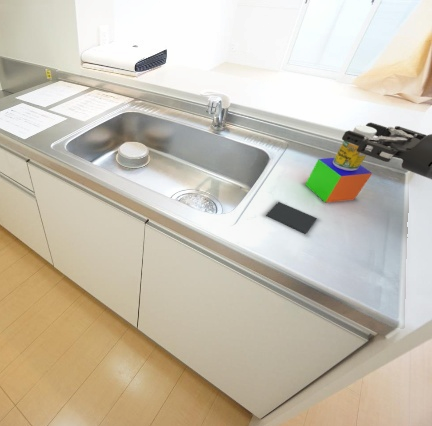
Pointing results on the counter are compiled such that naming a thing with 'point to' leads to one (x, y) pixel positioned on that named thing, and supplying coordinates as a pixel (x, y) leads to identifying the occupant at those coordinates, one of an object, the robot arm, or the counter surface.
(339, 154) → the supplement bottle
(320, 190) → the cube
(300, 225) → the mat
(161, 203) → the counter surface
